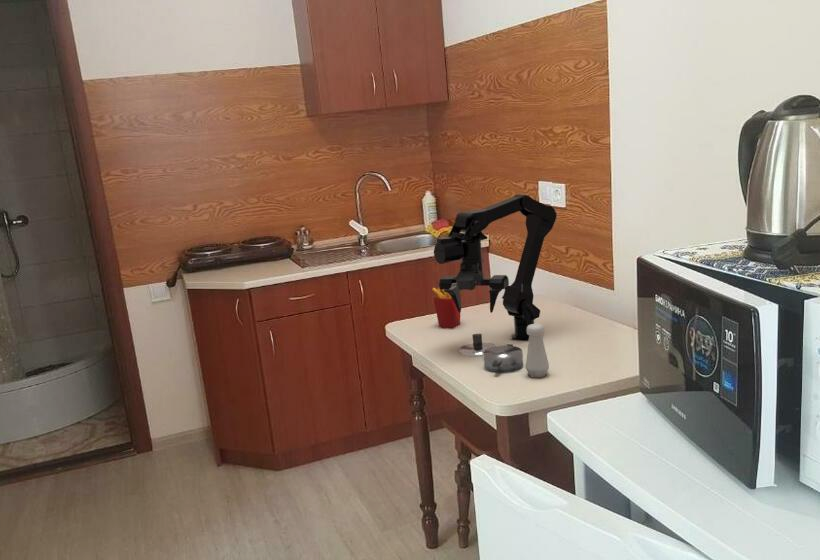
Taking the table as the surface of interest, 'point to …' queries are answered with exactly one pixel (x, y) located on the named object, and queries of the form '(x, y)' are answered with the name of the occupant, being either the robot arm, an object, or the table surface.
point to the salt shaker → (536, 352)
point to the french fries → (446, 310)
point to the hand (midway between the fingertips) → (475, 312)
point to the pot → (503, 359)
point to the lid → (475, 347)
